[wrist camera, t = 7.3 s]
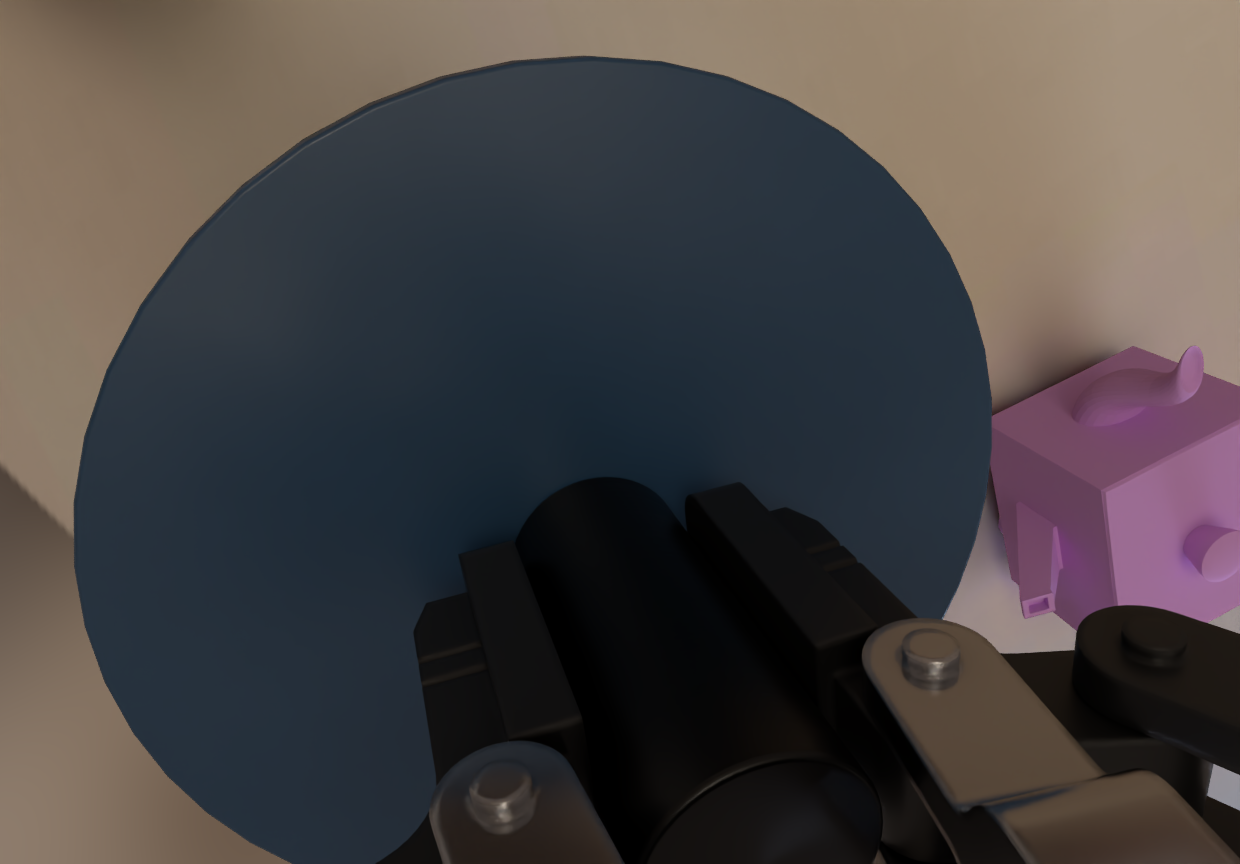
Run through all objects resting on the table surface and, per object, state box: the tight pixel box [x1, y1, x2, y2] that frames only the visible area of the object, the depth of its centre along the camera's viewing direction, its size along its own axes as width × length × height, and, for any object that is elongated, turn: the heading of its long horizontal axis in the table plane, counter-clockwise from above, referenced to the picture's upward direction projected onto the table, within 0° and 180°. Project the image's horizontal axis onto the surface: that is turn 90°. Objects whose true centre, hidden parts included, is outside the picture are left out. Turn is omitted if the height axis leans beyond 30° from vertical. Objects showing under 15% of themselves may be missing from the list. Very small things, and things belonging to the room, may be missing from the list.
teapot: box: [990, 346, 1240, 630], centre depth 40 cm, size 18×13×10 cm
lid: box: [74, 56, 992, 864], centre depth 11 cm, size 13×13×7 cm
